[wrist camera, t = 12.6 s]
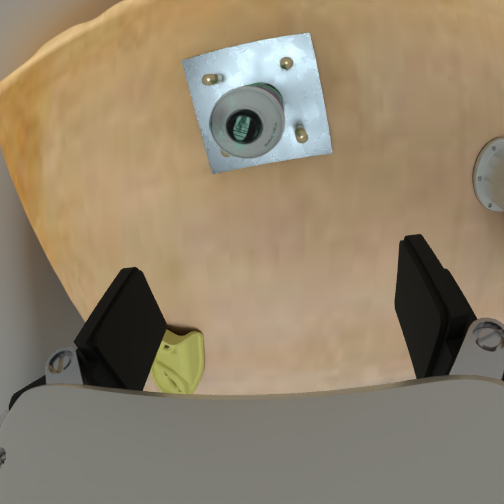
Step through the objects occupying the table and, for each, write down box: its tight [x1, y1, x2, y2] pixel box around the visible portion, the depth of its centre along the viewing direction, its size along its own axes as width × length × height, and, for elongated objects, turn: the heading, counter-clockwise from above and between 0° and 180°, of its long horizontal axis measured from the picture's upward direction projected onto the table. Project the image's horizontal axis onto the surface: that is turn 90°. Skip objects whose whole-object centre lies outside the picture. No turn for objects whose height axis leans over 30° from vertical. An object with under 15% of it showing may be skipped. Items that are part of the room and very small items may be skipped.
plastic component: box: [150, 329, 204, 394], centre depth 63 cm, size 20×7×10 cm
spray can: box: [209, 82, 285, 159], centre depth 27 cm, size 6×6×20 cm
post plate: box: [182, 33, 332, 174], centre depth 34 cm, size 16×16×6 cm
